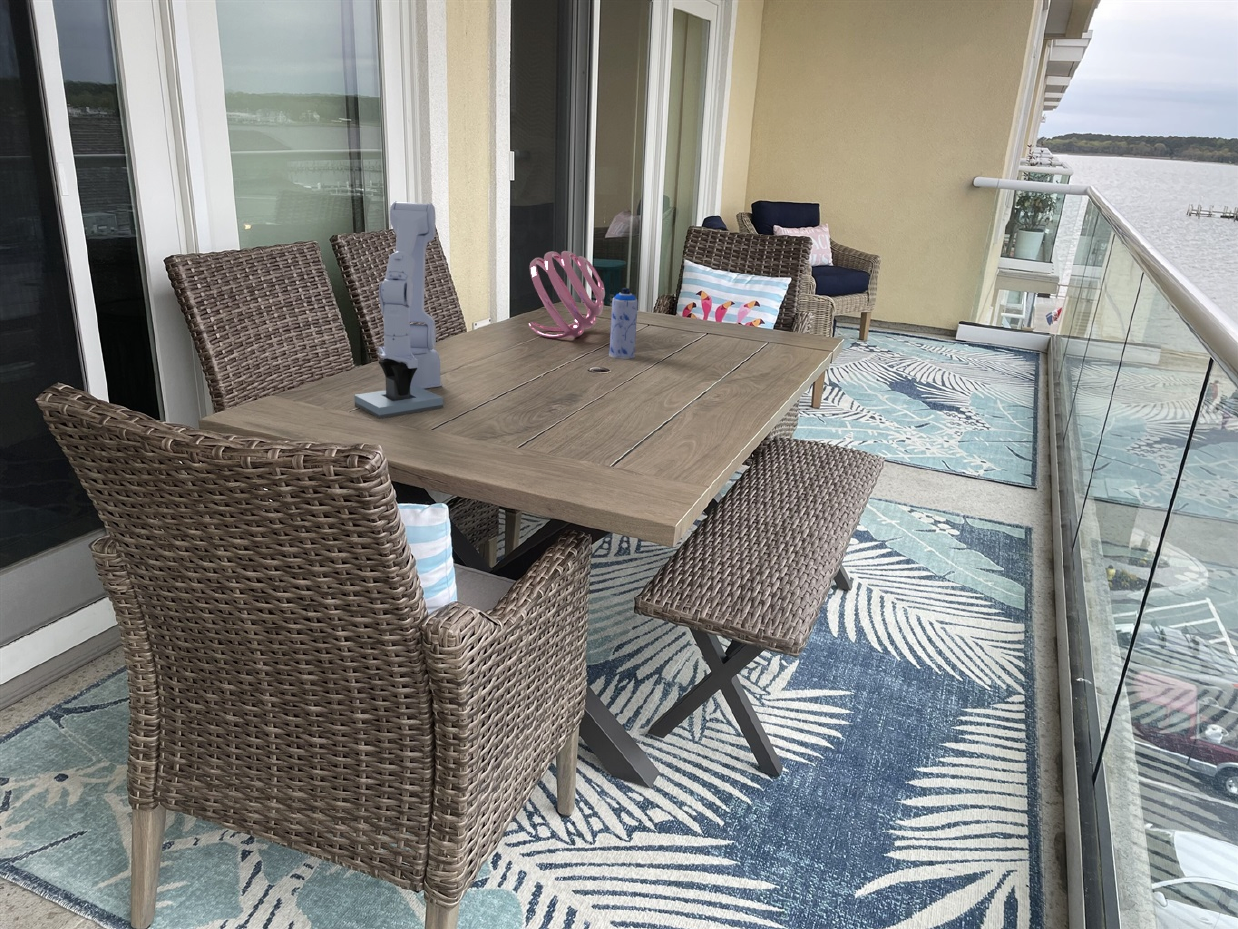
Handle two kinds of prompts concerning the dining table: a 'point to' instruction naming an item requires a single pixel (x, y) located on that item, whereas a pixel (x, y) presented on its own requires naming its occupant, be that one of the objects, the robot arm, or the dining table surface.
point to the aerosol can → (623, 325)
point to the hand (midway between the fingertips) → (398, 392)
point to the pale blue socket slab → (398, 403)
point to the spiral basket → (568, 294)
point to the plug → (394, 390)
